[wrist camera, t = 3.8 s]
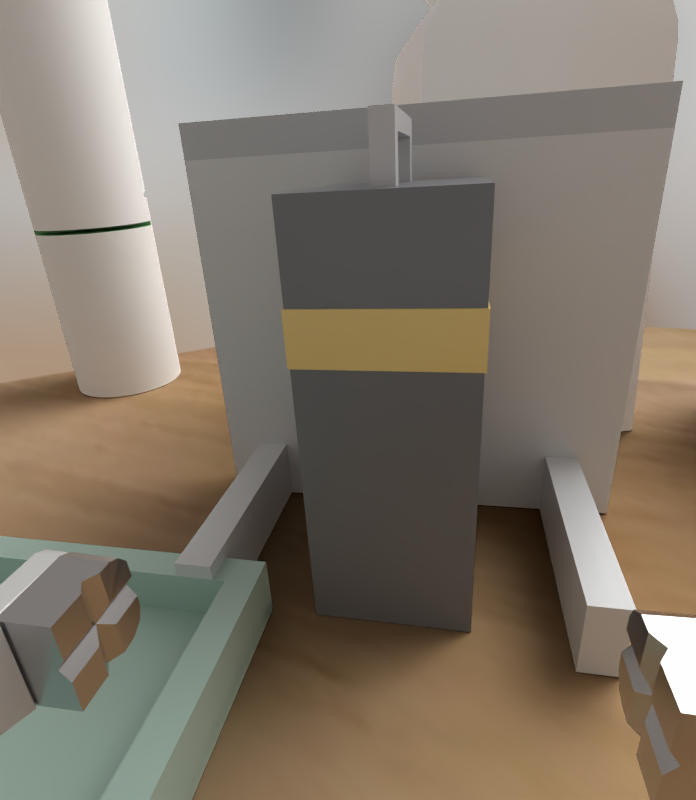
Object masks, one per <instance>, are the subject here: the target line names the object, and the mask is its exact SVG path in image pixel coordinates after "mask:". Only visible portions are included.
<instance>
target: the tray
mask: <svg viewBox="0 0 696 800" xmlns="http://www.w3.org/2000/svg"><path fill="white" fill-rule="evenodd" d="M46 549H48V550H55V551H63V552H76V553H83V554H91V555H99V556H107V557H114V558H120V559H122V560H125V561H127V564H128V567H129V570H130V573H131V575H132V576H131V578H130V580H129V582H128V583H127V586H128V587H129V588H130V589H131V590H132V591H133V592H134V593H135V594H136V595H137V596H138V600H139V604H140V622H139V625H138V628H137V631H136V634H135V637H134V639H133V640H132V642H131V643H130V645H129V646H128V648H127V649H126V651H125V652H124V653H122V654H121V655H119V656H118V657H116V658H115V659H113V660H111V661H110V662H109V675H108V677H107V678H106V680H105V681H104V683H103V684H102V686H101V687H100V688H99V690H98V691H97V693H96V694H95V696H94V697H93V698H92V700H91V701H90V703H89V704H88V706H87V707H86V709H85V710H84V711H83V712H81V711H74V710H66V709H59V708H51V707H44V706H36V709H35V710H34V711H33V712H31V713H30V714H29V715H27V716H26V717H25V718H23V719H22V720H21V721H19V722H18V723H17V724H15V725H14V726H13V727H11V728H10V729H9V730H7V731H6V732H5V733H3V734H2V735H1V736H0V800H192V799H193V796H194V794H195V791H196V789H197V787H198V784H199V782H200V780H201V777H202V775H203V773H204V770H205V768H206V766H207V763H208V761H209V758H210V756H211V754H212V751H213V749H214V747H215V744H216V742H217V740H218V737H219V735H220V733H221V730H222V728H223V725H224V723H225V721H226V718H227V716H228V714H229V711H230V709H231V707H232V704H233V702H234V699H235V697H236V695H237V692H238V690H239V688H240V685H241V683H242V681H243V678H244V676H245V674H246V671H247V669H248V666H249V664H250V662H251V659H252V657H253V655H254V652H255V650H256V648H257V645H258V643H259V641H260V638H261V636H262V633H263V631H264V629H265V626H266V624H267V622H268V619H269V617H270V615H271V612H272V610H273V605H272V598H271V591H270V585H269V578H268V572H267V565H266V562H262V561H252V560H242V559H231V558H225V560H224V561H223V563H222V565H221V566H220V568H219V570H218V571H217V573H216V575H215V576H214V578H213V580H210V579H201V578H191V577H182V576H177V573H176V569H175V565H174V563H175V562H176V560H177V559H178V557H179V556H180V555H181V554H180V553H170V552H159V551H149V550H139V549H129V548H118V547H108V546H98V545H87V544H77V543H67V542H57V541H46V540H36V539H26V538H15V537H5V536H0V585H1V584H2V583H3V582H4V581H5V580H6V579H7V578H8V577H9V576H11V575H12V574H13V573H14V572H15V571H16V570H17V569H18V568H19V567H21V566H22V565H23V564H24V563H25V562H26V561H27V560H28V559H29V558H31V557H32V556H33V555H34V554H35V553H37V552H40V551H43V550H46Z"/></svg>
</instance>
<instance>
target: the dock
mask: <svg viewBox="0 0 696 800" xmlns="http://www.w3.org/2000/svg"><path fill="white" fill-rule="evenodd" d="M682 84H683V81H676V82H664V83H652V84H640V85H628V86H616V87H604V88H593V89H581V90H569V91H557V92H545V93H533V94H522V95H510V96H498V97H486V98H474V99H462V100H451V101H439V102H427V103H415V104H403V105H397V106H398V107H399V108H400V109H401V110H402V111H404V112H405V113H406V114H407V115H408V116H409V117H410V118H412V180H423V179H441V178H459V177H477V176H485V177H487V178H488V179H490V180H491V181H493V182H495V194H494V212H493V230H492V249H491V267H490V285H489V303H490V308H491V310H490V328H489V346H488V364H487V373H485V377H484V396H483V414H482V432H481V451H480V469H479V487H478V505H489V506H504V507H519V508H533V509H540V513H541V518H542V522H543V526H544V531H545V535H546V540H547V544H548V549H549V553H550V558H551V562H552V567H553V571H554V576H555V580H556V585H557V589H558V594H559V598H560V603H561V607H562V612H563V616H564V621H565V625H566V630H567V634H568V639H569V643H570V648H571V652H572V657H573V661H574V666H575V670H576V672H581V673H589V674H597V675H605V676H613V677H619V663H620V657H621V652H622V651H623V650H625V649H626V648H627V647H629V643H630V638H629V636H628V633H627V630H626V628H627V624H628V620H629V616H630V614H631V613H632V611H633V610H634V609H635V610H636V607H635V605H634V602H633V600H632V597H631V594H630V592H629V589H628V587H627V584H626V582H625V579H624V576H623V574H622V571H621V569H620V566H619V564H618V561H617V559H616V556H615V553H614V551H613V548H612V546H611V543H610V541H609V538H608V535H607V533H606V530H605V528H604V525H603V523H602V520H601V517H600V515H599V513H607V509H608V503H609V498H610V492H611V486H612V481H613V475H614V469H615V464H616V458H617V452H618V447H619V441H620V435H621V430H622V424H623V418H624V413H625V407H626V401H627V396H628V390H629V384H630V379H631V373H632V367H633V362H634V356H635V350H636V345H637V339H638V333H639V328H640V322H641V316H642V311H643V305H644V299H645V293H646V288H647V282H648V276H649V271H650V265H651V259H652V254H653V248H654V242H655V237H656V231H657V225H658V220H659V214H660V208H661V203H662V197H663V191H664V186H665V179H666V174H667V168H668V163H669V157H670V151H671V146H672V140H673V134H674V129H675V123H676V117H677V112H678V106H679V101H680V95H681V89H682ZM179 129H180V135H181V141H182V147H183V153H184V160H185V165H186V172H187V178H188V184H189V190H190V195H191V201H192V207H193V214H194V220H195V225H196V231H197V238H198V244H199V249H200V256H201V262H202V268H203V274H204V280H205V286H206V292H207V298H208V304H209V310H210V316H211V322H212V328H213V334H214V340H215V346H216V352H217V358H218V364H219V370H220V376H221V382H222V389H223V395H224V401H225V407H226V413H227V419H228V425H229V431H230V437H231V443H232V449H233V455H234V461H235V467H236V473H237V477H236V478H235V480H234V481H233V482H232V484H231V485H230V486H229V488H228V489H227V491H226V492H225V493H224V495H223V496H222V498H221V499H220V500H219V502H218V503H217V505H216V506H215V507H214V509H213V510H212V512H211V513H210V514H209V516H208V517H207V518H206V520H205V521H204V523H203V524H202V525H201V527H200V528H199V530H198V531H197V532H196V534H195V535H194V537H193V538H192V539H191V541H190V542H189V544H188V545H187V546H186V548H185V549H184V551H183V552H182V553H181V555H180V556H179V557H178V559H177V560H176V562H175V563H174V565H175V569H176V573H177V576H182V577H191V578H201V579H210V580H213V578H214V576H215V575H216V573H217V571H218V570H219V568H220V566H221V565H222V563H223V561H224V560H225V558H231V559H242V560H252V561H257V559H258V557H259V555H260V553H261V551H262V549H263V547H264V546H265V544H266V542H267V540H268V538H269V536H270V534H271V532H272V530H273V528H274V526H275V524H276V522H277V520H278V518H279V516H280V515H281V513H282V511H283V509H284V507H285V505H286V503H287V501H288V499H289V497H290V495H291V493H292V492H298V493H303V487H302V478H301V469H300V459H299V450H298V441H297V431H296V422H295V413H294V403H293V394H292V385H291V375H290V369H287V361H286V352H285V343H284V333H283V324H282V315H281V309H282V308H283V301H282V291H281V282H280V273H279V263H278V254H277V245H276V235H275V226H274V217H273V207H272V198H271V194H277V193H283V192H289V191H295V190H301V189H307V188H313V187H319V186H324V185H332V184H350V183H368V182H370V158H369V130H368V108H356V109H344V110H332V111H321V112H309V113H297V114H286V115H274V116H261V117H250V118H238V119H226V120H214V121H203V122H192V123H179Z"/></svg>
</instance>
